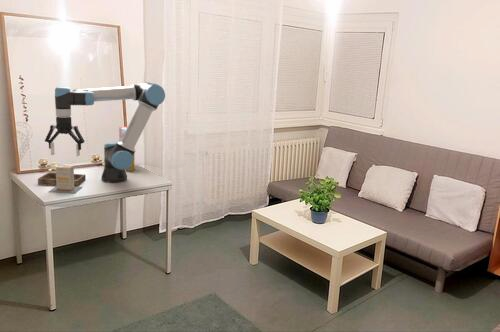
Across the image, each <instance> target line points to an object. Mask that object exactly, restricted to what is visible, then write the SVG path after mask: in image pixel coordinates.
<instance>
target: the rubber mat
mask: <svg viewBox="0 0 500 332" xmlns="http://www.w3.org/2000/svg"><path fill="white" fill-rule="evenodd" d="M81 189H83V186H78V187H77V186H74V189H73V190H71V191H70V190H57V186H56V185H55V186H54V187H52V188H51V189H50V190H49V191H48V193H56V194H58V193H59V194H72V195H73V194H77V192H79V191H80V190H81Z"/></svg>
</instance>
